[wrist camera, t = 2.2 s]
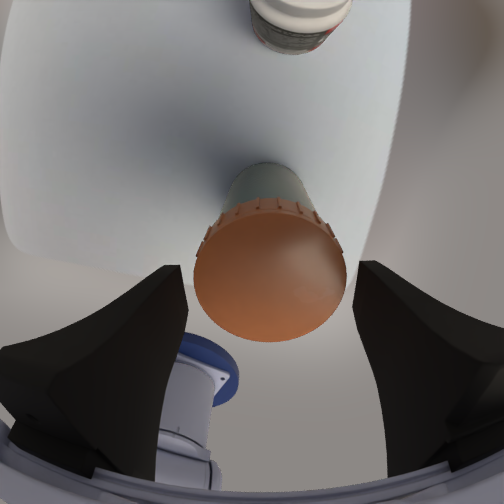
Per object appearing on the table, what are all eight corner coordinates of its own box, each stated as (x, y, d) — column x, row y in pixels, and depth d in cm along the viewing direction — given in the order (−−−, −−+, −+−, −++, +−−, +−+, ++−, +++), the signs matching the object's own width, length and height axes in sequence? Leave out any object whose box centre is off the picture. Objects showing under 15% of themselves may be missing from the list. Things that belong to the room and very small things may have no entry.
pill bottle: (323, 61, 16) (366, 31, 8) (248, 51, 15) (237, 9, 8) (330, 1, 13) (369, -55, 6) (256, -10, 13) (252, -76, 6)
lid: (292, 334, 14) (294, 359, 12) (180, 286, 13) (170, 309, 11) (365, 238, 12) (378, 258, 10) (238, 169, 10) (233, 179, 9)
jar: (281, 247, 22) (292, 347, 13) (215, 215, 21) (181, 301, 12) (320, 186, 19) (365, 254, 11) (250, 148, 18) (238, 186, 10)
